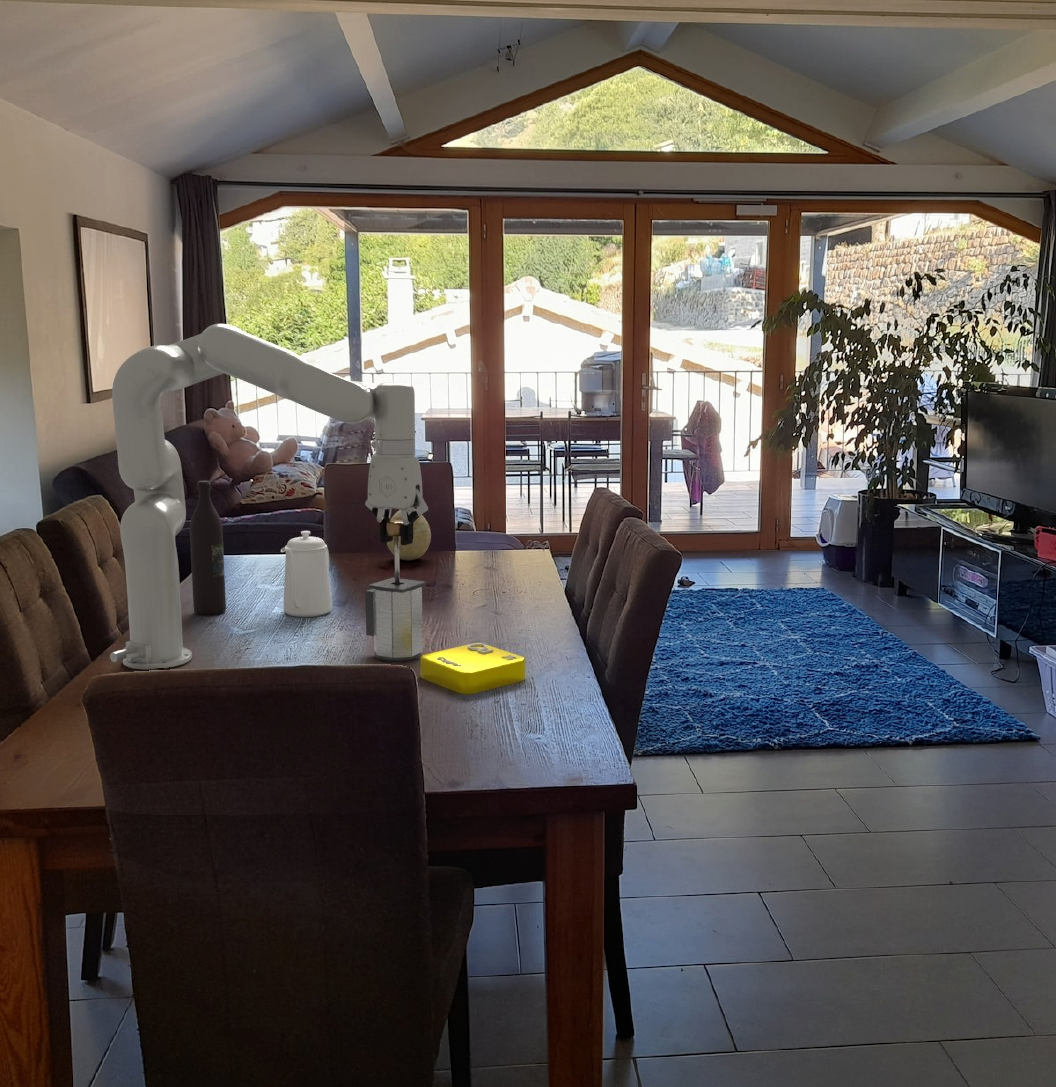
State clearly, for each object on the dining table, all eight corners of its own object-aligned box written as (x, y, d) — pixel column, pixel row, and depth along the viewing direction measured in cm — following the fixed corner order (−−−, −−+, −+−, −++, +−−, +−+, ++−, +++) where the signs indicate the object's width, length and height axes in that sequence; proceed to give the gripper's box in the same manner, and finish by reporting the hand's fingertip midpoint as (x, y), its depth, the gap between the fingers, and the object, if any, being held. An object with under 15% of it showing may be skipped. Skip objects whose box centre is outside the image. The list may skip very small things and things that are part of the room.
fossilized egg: (414, 553, 316) (414, 502, 313) (439, 560, 306) (439, 508, 303) (377, 559, 308) (376, 506, 305) (402, 566, 298) (401, 512, 296)
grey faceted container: (404, 665, 207) (403, 590, 204) (355, 656, 212) (353, 583, 210) (430, 653, 215) (430, 581, 212) (383, 645, 220) (382, 575, 218)
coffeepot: (260, 625, 235) (257, 540, 232) (306, 598, 260) (304, 521, 256) (307, 628, 233) (305, 542, 230) (349, 601, 257) (347, 523, 254)
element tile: (415, 678, 201) (415, 653, 200) (478, 662, 210) (478, 639, 210) (466, 697, 190) (466, 671, 189) (530, 680, 199) (530, 655, 199)
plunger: (401, 601, 206) (400, 526, 204) (373, 596, 210) (372, 523, 207) (421, 594, 212) (420, 521, 210) (393, 590, 215) (392, 518, 213)
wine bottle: (216, 617, 242) (210, 483, 236) (187, 615, 243) (181, 482, 238) (231, 609, 249) (226, 479, 243) (203, 608, 250) (197, 478, 244)
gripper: (347, 447, 206) (350, 542, 210) (420, 452, 198) (421, 550, 202) (371, 444, 213) (373, 536, 216) (443, 449, 205) (443, 544, 208)
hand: (396, 542), depth 209 cm, fingers closed on plunger, 4 cm apart
